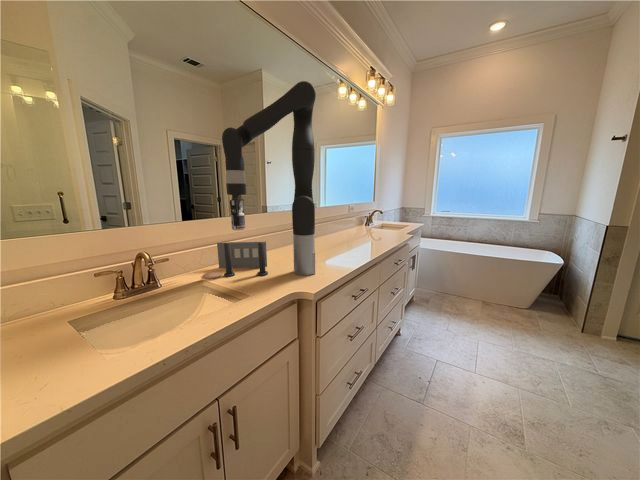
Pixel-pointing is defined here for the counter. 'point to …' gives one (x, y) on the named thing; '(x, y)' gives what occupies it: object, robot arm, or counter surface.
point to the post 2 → (262, 260)
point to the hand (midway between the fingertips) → (238, 224)
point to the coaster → (212, 275)
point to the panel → (241, 254)
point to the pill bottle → (242, 221)
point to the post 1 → (228, 261)
